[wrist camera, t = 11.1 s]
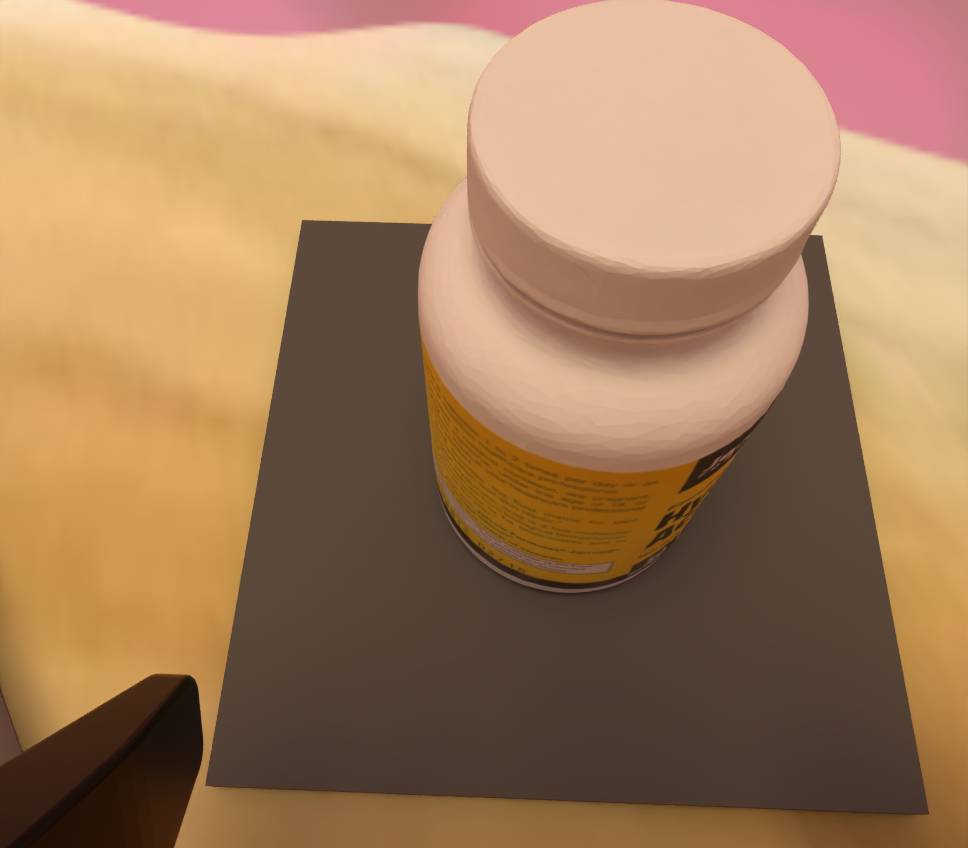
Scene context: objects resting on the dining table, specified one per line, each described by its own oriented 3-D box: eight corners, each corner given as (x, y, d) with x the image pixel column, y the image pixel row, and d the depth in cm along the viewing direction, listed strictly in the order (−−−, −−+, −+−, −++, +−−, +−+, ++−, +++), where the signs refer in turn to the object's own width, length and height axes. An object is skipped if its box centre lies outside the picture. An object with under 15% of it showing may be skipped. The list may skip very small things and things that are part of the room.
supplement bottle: (653, 639, 16) (867, 413, 7) (397, 545, 17) (301, 237, 8) (717, 408, 18) (941, 16, 9) (489, 335, 19) (495, -89, 10)
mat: (915, 814, 15) (929, 814, 14) (213, 786, 15) (205, 785, 15) (814, 248, 21) (821, 235, 20) (306, 233, 21) (302, 220, 20)
